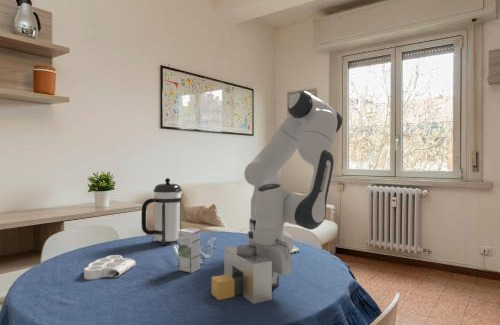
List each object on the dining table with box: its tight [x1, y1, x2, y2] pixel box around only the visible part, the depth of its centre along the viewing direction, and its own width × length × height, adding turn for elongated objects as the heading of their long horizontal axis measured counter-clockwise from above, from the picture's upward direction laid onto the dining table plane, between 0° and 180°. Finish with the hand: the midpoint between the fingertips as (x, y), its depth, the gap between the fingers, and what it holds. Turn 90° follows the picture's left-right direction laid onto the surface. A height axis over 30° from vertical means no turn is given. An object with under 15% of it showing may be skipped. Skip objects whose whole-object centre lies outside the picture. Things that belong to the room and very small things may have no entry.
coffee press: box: [141, 177, 183, 247], centre depth 161 cm, size 17×16×30 cm
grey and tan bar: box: [211, 274, 280, 301], centre depth 105 cm, size 21×5×5 cm, turn 119°
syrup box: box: [177, 227, 201, 274], centre depth 123 cm, size 6×6×14 cm
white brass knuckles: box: [83, 254, 137, 280], centre depth 122 cm, size 3×18×15 cm
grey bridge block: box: [223, 244, 273, 305], centre depth 105 cm, size 6×19×13 cm, turn 29°
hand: (269, 280), depth 108 cm, fingers closed on grey and tan bar, 3 cm apart
